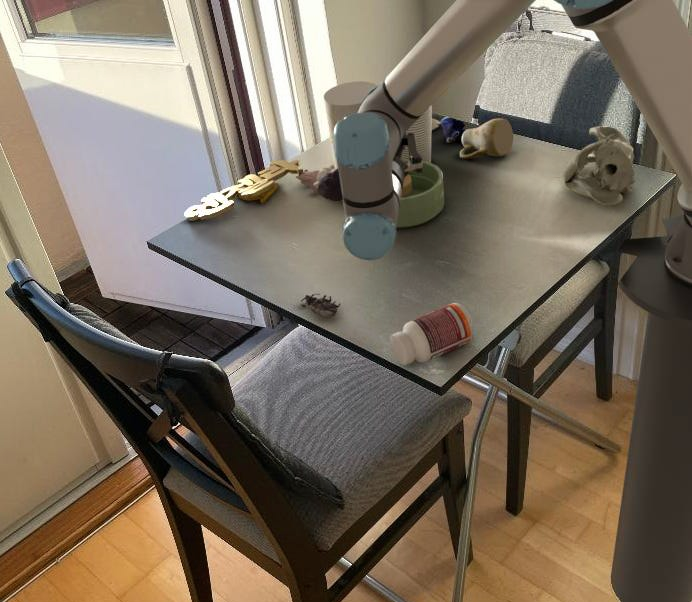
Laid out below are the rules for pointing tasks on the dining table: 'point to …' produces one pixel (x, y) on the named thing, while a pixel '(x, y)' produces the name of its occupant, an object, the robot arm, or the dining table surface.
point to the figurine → (323, 182)
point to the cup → (421, 136)
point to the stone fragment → (435, 123)
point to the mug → (488, 139)
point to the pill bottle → (433, 334)
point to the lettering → (242, 190)
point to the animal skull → (603, 167)
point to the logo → (262, 194)
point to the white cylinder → (344, 104)
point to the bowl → (422, 196)
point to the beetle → (320, 305)
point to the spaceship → (452, 129)
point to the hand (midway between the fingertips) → (392, 122)
